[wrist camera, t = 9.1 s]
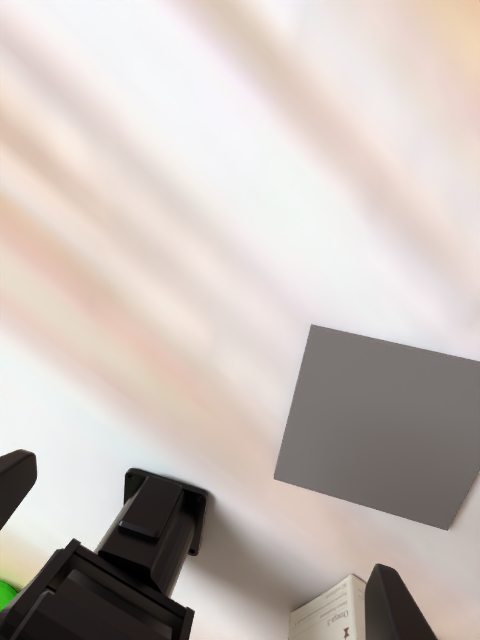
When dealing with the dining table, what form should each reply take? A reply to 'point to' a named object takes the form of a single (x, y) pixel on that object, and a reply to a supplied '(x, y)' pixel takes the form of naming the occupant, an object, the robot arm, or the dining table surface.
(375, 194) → the dining table surface
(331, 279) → the dining table surface
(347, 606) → the supplement box
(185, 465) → the dining table surface
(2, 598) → the plastic bottle
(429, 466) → the mat
